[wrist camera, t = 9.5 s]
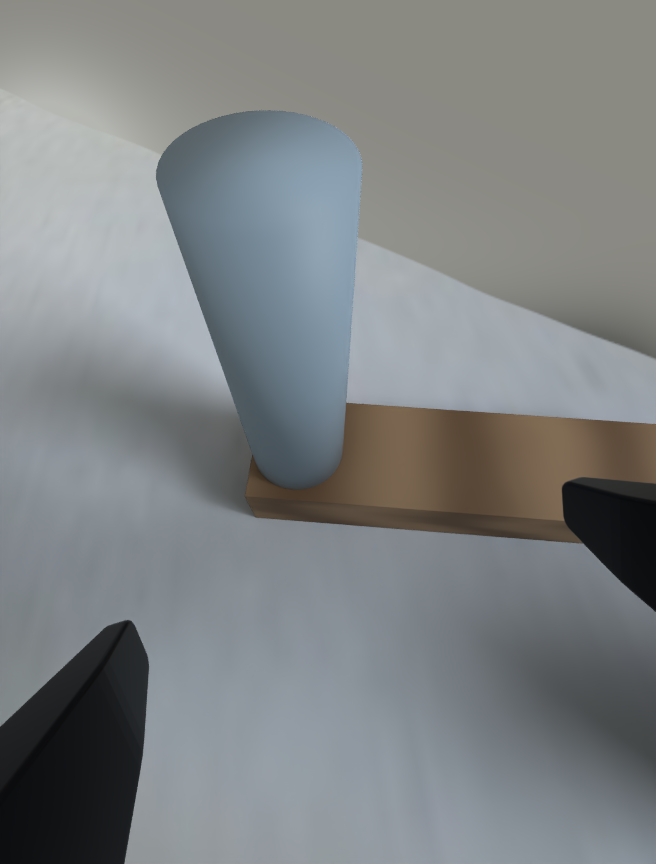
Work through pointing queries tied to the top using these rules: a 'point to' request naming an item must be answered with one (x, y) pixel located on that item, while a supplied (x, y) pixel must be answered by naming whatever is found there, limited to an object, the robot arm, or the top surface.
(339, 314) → the dowel
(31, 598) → the top surface
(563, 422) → the beam
